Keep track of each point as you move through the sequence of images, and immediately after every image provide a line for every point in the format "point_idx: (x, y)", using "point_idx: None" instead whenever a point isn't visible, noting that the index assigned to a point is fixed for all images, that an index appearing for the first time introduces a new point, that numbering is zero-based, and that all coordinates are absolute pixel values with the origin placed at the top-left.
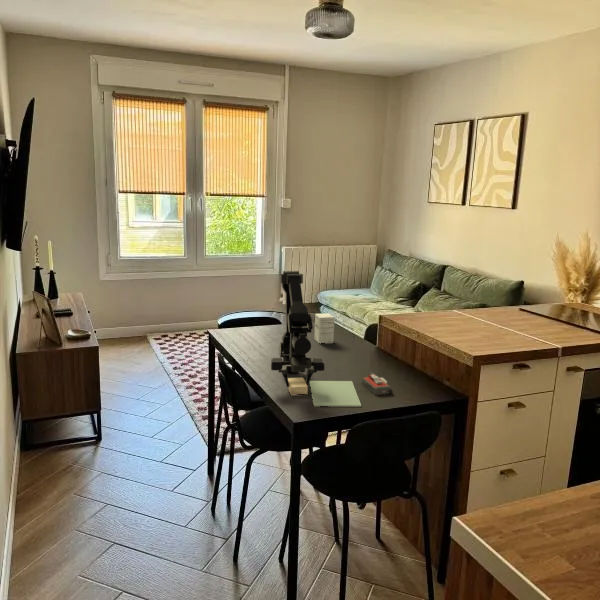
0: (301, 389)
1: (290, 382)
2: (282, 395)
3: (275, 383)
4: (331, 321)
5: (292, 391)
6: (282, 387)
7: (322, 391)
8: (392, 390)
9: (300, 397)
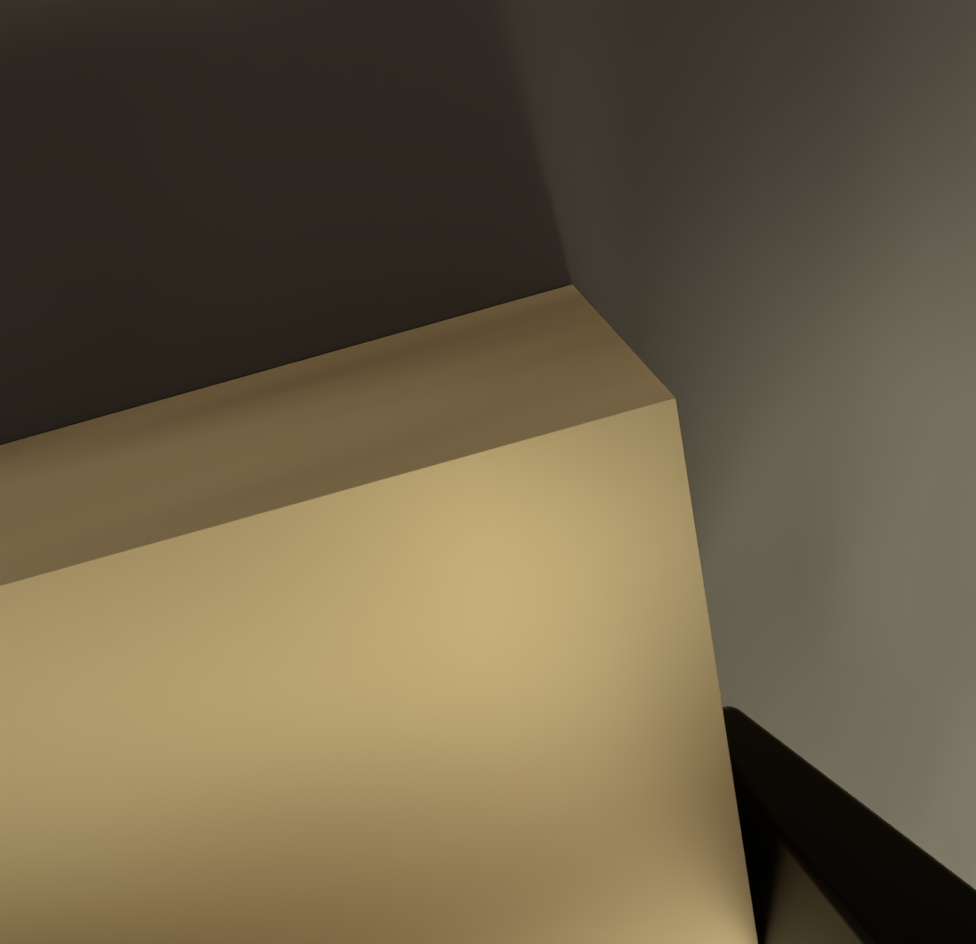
0: (115, 497)
1: (679, 896)
2: (861, 240)
3: None
4: None
5: (531, 352)
6: None
7: None
8: None
9: (156, 148)
